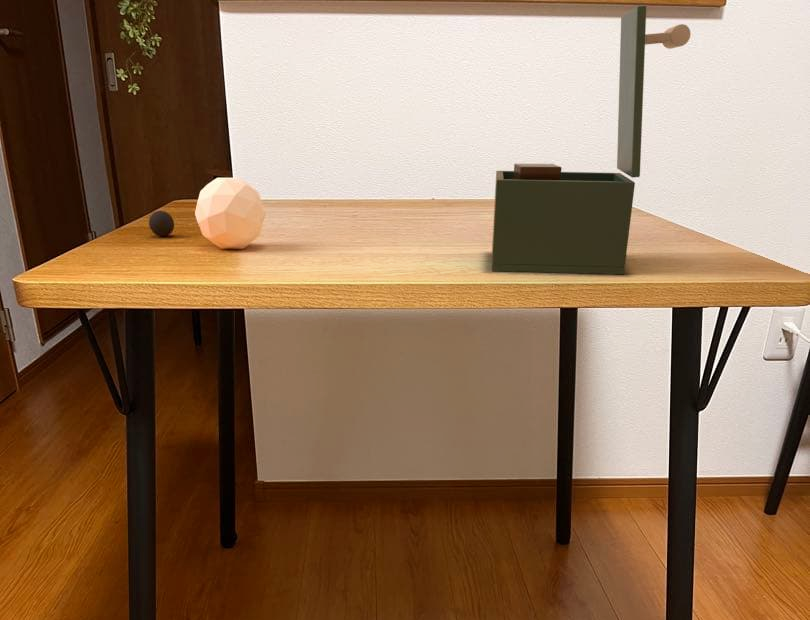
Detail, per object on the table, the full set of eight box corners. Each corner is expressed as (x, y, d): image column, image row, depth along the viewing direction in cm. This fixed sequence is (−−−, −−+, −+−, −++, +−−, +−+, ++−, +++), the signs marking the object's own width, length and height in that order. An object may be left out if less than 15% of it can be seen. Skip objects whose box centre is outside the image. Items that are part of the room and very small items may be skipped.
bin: (491, 270, 90) (496, 179, 86) (491, 252, 100) (496, 170, 96) (624, 274, 89) (635, 182, 85) (610, 255, 99) (620, 172, 95)
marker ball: (180, 236, 109) (177, 210, 108) (161, 239, 107) (158, 212, 106) (164, 233, 111) (161, 208, 109) (145, 236, 108) (142, 210, 107)
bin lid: (637, 6, 78) (699, -1, 78) (621, 15, 89) (675, 10, 88) (631, 177, 85) (688, 173, 84) (616, 168, 95) (668, 164, 94)
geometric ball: (252, 272, 103) (284, 218, 98) (188, 252, 98) (218, 193, 93) (240, 231, 106) (270, 176, 102) (178, 209, 102) (206, 151, 97)
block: (546, 252, 96) (553, 163, 92) (554, 259, 93) (561, 166, 89) (508, 252, 96) (514, 163, 92) (514, 258, 93) (520, 166, 88)
